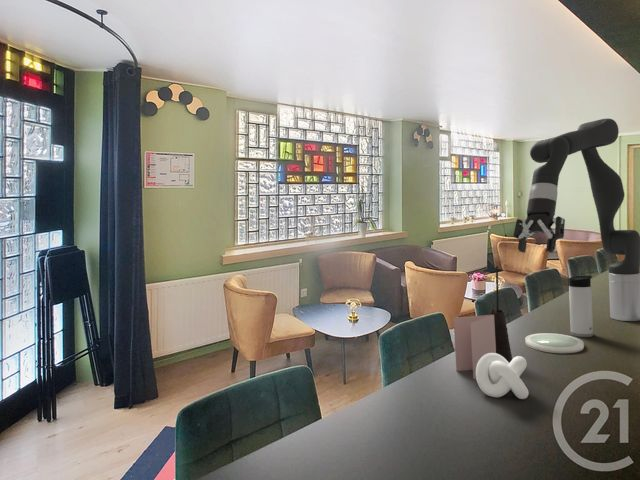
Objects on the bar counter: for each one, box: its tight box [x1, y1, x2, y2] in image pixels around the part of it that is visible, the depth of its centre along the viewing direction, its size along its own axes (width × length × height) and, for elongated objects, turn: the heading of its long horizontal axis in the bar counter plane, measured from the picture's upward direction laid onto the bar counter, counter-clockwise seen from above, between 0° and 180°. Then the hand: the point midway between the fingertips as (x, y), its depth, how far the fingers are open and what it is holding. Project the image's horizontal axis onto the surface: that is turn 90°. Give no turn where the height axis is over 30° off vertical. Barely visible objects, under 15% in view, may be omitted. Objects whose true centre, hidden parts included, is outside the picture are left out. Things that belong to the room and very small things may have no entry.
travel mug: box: [568, 274, 594, 338], centre depth 134 cm, size 6×7×20 cm
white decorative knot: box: [475, 353, 529, 400], centre depth 94 cm, size 11×12×9 cm
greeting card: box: [453, 314, 496, 380], centre depth 108 cm, size 11×7×15 cm, turn 92°
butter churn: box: [489, 265, 513, 363], centre depth 117 cm, size 9×10×28 cm
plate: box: [524, 332, 585, 354], centre depth 126 cm, size 16×16×2 cm
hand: (535, 252), depth 119 cm, fingers open, 8 cm apart
